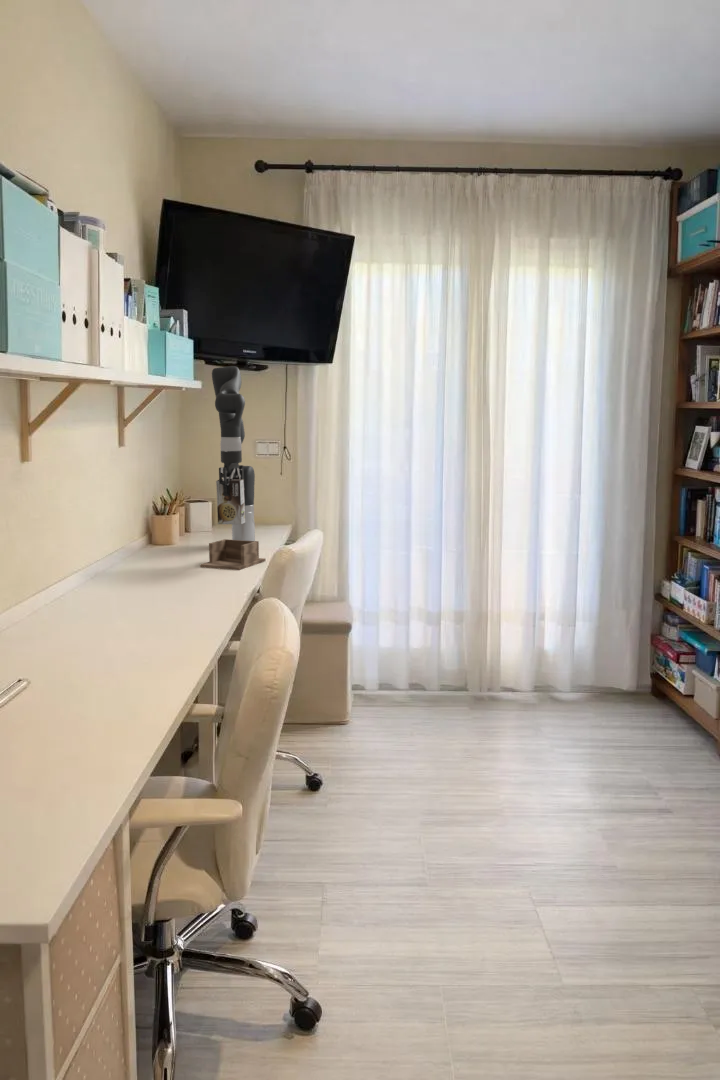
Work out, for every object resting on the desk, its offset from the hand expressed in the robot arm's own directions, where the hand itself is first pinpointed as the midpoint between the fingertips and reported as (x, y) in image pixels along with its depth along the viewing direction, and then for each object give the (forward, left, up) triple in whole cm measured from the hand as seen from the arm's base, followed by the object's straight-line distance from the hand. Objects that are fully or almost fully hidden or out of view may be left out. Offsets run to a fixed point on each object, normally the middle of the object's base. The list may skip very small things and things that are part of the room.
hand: (232, 494), depth 327 cm
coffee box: (0, 0, -11) cm, 11 cm away
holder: (0, 0, -26) cm, 26 cm away
